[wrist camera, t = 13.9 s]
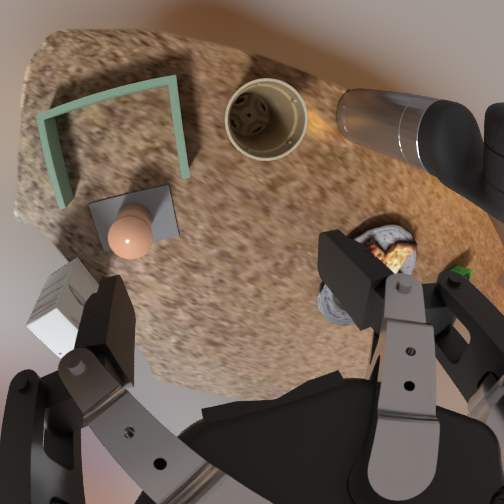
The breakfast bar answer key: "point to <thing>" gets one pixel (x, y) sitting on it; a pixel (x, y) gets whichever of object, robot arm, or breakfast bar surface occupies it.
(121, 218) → the tan round knob
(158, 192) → the slate mat
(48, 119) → the green u-shaped frame
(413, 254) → the food plate
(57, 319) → the supplement box
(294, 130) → the flower pot
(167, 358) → the breakfast bar surface
